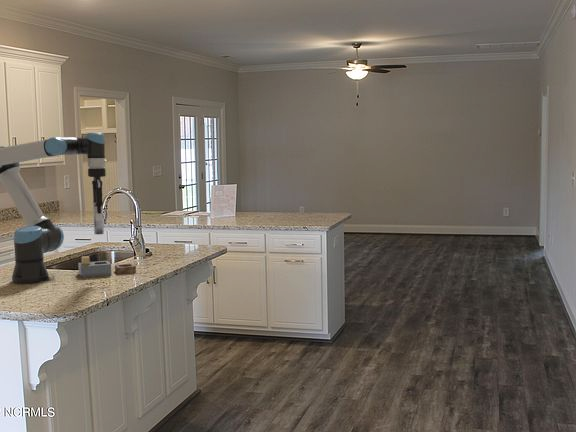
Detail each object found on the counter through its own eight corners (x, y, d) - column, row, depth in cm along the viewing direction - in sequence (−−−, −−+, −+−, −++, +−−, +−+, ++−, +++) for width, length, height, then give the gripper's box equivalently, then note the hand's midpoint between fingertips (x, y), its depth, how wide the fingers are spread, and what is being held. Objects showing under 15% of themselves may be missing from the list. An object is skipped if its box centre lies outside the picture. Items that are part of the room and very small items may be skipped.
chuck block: (81, 280, 295) (80, 266, 294) (78, 276, 304) (78, 262, 303) (111, 277, 300) (111, 264, 299) (108, 273, 309) (107, 260, 308)
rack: (117, 276, 301) (116, 267, 301) (114, 273, 309) (113, 264, 309) (137, 275, 305) (137, 266, 304) (133, 271, 313) (133, 263, 312)
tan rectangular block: (83, 273, 298) (82, 257, 297) (82, 272, 301) (81, 256, 300) (90, 272, 299) (89, 257, 298) (89, 271, 302) (88, 256, 301)
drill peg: (95, 234, 298) (93, 203, 297) (93, 233, 302) (92, 202, 300) (104, 234, 300) (103, 202, 298) (103, 233, 303) (101, 202, 302)
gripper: (108, 168, 291) (109, 221, 294) (102, 167, 307) (104, 217, 309) (90, 168, 288) (92, 222, 291) (85, 167, 304) (87, 218, 306)
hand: (98, 220), depth 300 cm, fingers closed on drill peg, 4 cm apart
